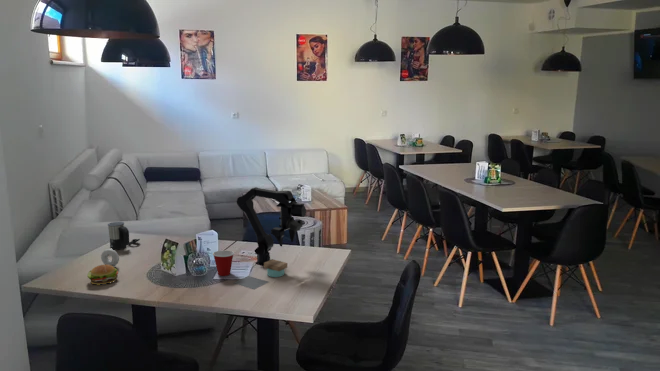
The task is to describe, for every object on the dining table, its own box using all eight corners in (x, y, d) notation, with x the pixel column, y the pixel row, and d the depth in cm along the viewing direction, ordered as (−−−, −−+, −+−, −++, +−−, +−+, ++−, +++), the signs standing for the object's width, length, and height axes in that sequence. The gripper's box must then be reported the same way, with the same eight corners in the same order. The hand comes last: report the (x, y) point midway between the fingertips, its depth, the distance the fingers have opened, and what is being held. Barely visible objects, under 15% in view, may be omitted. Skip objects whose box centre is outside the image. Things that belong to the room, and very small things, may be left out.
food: (93, 276, 249) (91, 261, 248) (122, 275, 251) (120, 260, 249) (82, 287, 236) (80, 271, 234) (112, 286, 237) (111, 270, 236)
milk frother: (106, 249, 291) (104, 225, 288) (122, 241, 306) (120, 218, 303) (128, 251, 288) (126, 226, 285) (143, 242, 304) (141, 219, 301)
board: (263, 267, 250) (263, 262, 249) (272, 263, 255) (272, 259, 255) (279, 271, 244) (279, 266, 244) (287, 267, 250) (287, 262, 249)
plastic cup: (239, 273, 254) (238, 250, 251) (226, 280, 244) (225, 257, 242) (222, 269, 258) (221, 247, 256) (209, 276, 249) (208, 254, 246)
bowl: (264, 276, 249) (263, 268, 249) (274, 271, 256) (274, 263, 255) (276, 279, 245) (276, 271, 244) (287, 274, 252) (287, 266, 251)
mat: (232, 284, 239) (232, 282, 239) (248, 277, 248) (248, 275, 248) (254, 290, 232) (254, 289, 232) (269, 283, 241) (269, 281, 240)
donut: (100, 267, 262) (98, 249, 260) (104, 265, 266) (103, 247, 264) (117, 268, 260) (115, 250, 258) (121, 266, 263) (119, 248, 262)
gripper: (287, 221, 245) (287, 251, 248) (309, 213, 260) (309, 242, 264) (269, 218, 251) (270, 247, 254) (292, 210, 267) (293, 238, 270)
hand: (286, 243), depth 260 cm, fingers open, 9 cm apart
